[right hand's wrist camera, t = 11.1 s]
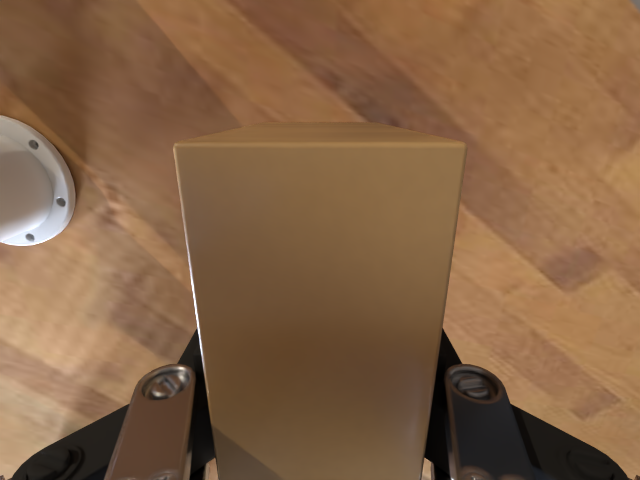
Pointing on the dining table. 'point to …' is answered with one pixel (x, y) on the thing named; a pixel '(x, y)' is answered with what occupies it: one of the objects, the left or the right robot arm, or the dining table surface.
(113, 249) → the dining table surface
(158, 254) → the dining table surface
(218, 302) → the post
